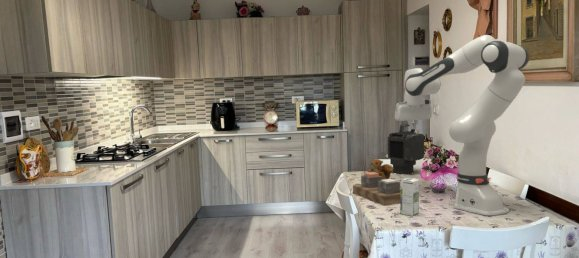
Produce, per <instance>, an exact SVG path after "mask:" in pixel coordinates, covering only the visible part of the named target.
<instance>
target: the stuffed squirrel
mask: <svg viewBox="0 0 579 258" xmlns="http://www.w3.org/2000/svg"><path fill="white" fill-rule="evenodd" d="M383 163H384V160H381V159H380V158H379V159H378V158H374V159H373V160H372V161H371V163H370V164H369V167H372V169H368V170H367V172H375V173H378V174H379V176H381V177H382V180H385V179H391V178H390V177H391V174H393V169H394V168H393V165H392V164H389V163H384V164H383Z"/></svg>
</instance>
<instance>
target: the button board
mask: <svg viewBox="0 0 579 258" xmlns="http://www.w3.org/2000/svg"><path fill="white" fill-rule="evenodd" d="M360 179H361V180H360V184H353V185H352V194H354V195H357V196H359V197H362V198H363V199H366V200H368V201H369V200H370V201H372V202H373V203H374V202H375V203H377V204H379V205H382V206H389V205H398V204H400V195H401V181H398V180H396V181H397V182H394V183H385V182H382V181H381V180H382V177H381V176H379V177H372V178H369V177H366V176H364V174H363V175H361V176H360Z"/></svg>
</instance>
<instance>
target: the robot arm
mask: <svg viewBox="0 0 579 258" xmlns="http://www.w3.org/2000/svg"><path fill="white" fill-rule="evenodd" d="M529 61H530V53H529V51H528V50H527V49H526V48H525V47H524V46H522V45H521V44H520V45H519V44H515V43H513V42H509V41H501V40H497V39H496V38H495V37H493V36H492V35H489V34H483V35H480V36H478V37H476V38H474V39H473V40H470V41H469V42H467V43H466V44H464V45H463V46H461V47H460V48H459V49H457V50H456V51H454V52H452V53H451V54H450V55H448V56H446V57H445V58H443V59H441V60H439V61H437V62H435V63H434V64H433V65H431V66H429V67H427V68H426V69H422V68H420V67H413V68H409V69H407V70H406V71H405V73H404V79H403V88H404V94H403V101H398V102H397V103H396V104H395V111H394V120H395V121H397V122H404V121H405V122H407V124H409V126H408V127H409V130H411V129H415V130H416V129H418V128H417V126H418V124H419V121H421V120H430V119H431V118H432V105H431V104H432V101H431V99H429V98H426V97H423V96H426V95H429V96H431V95H434V94H437V93H438V92H439V90H440V89H441V85H442V84H441V80H440V78H442V77H445V76H448V75H456V74H465V73H468V72H471V71H473V70H476V69H477V68H479V67H480V66H482V65H484V66H485V67H487V69H488V70H489V72H490V73H491V74H494V78H493V79H492V81H491V82H490V84H489V85H488V86H487V87H486V88H485V90H484V91H483V92H482V93H481V95H479V98H478V99H477V100H476V101H475V102H474V103H473V105H471V106H470V107H468V108H467V110H466V111H465V112H464V113H463V114H461V115H460V116H459V117H458V118H457V119H455V120H454V121H452V123H451V124H450V125H449V128H448V132H449V133H448V134H449V137H450V138H451V140H453V142H454V141H455V143H456V142H457V143H460V144H463V147H462V150H461V151H460V153H459V154H458V172H457V174H456V181H457V188H456V195H455V199H454V201H453V202H454V203H453V208H454V209H457V210H459V211H460V210H461V211H465V212H469V213H474V214H477V215H482V216H499V215H504V214H507V213H509V212H510V209H509V208H507V207H505V206H504V204H503V198H502V196H501V194H499V192H497V190H495V188H494V187H492V185H491V184H490V181H491V180H492V177H489V176H488V174H487V156H488V153H489V152H488V151H489V147H490V143H491V140H492V138H493V136H494V135H495V132H496V129H497V126H496V123H495V121H496V120H497V119H499V118H500V117H502V116H503V114H504V113H505V112H506V110H507V109H508V108H509V107H510V105H511V104H512V103H513V102H514V101H515V99H516V98H517V96H518V95H519V93H520V92H521V90H522V88H523V86H524V85H525V83H526V77H525V75H524V73H523V72H522V71H521V70H522V69H524V68H525V67H526V66H527V65H528V63H529ZM412 123H414V125H412Z"/></svg>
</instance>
